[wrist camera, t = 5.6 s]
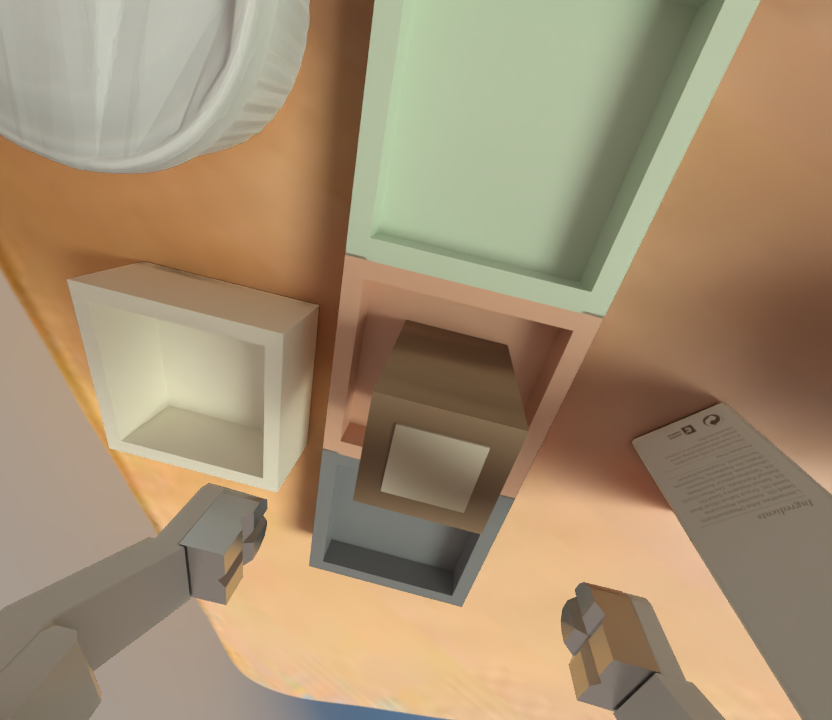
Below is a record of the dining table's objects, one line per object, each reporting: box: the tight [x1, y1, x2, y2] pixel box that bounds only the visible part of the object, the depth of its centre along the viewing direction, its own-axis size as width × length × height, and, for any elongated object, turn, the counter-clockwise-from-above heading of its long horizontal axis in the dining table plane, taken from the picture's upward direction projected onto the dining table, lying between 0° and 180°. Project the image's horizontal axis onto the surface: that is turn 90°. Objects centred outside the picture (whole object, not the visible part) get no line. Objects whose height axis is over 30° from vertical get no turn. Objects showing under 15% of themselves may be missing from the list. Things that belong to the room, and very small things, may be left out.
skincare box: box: [632, 403, 832, 720], centre depth 12 cm, size 6×4×12 cm
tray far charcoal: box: [309, 448, 515, 607], centre depth 20 cm, size 10×10×2 cm
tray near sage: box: [345, 0, 760, 318], centre depth 11 cm, size 10×10×2 cm
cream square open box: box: [67, 261, 319, 492], centre depth 16 cm, size 8×8×4 cm
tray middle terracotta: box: [323, 252, 604, 500], centre depth 16 cm, size 10×10×2 cm
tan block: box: [353, 320, 529, 535], centre depth 14 cm, size 4×5×6 cm
